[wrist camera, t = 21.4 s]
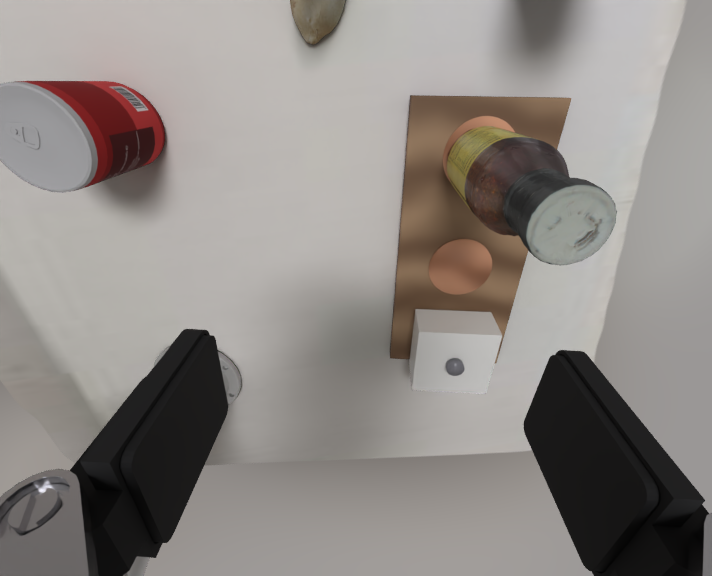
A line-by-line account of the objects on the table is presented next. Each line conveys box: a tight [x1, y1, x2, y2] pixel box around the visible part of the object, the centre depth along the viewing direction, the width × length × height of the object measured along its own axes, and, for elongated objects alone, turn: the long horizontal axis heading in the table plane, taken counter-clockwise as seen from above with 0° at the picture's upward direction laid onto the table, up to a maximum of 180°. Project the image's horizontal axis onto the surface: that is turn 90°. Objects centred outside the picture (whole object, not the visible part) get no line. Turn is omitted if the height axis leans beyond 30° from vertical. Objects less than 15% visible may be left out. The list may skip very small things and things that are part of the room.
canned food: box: [0, 81, 165, 192], centre depth 31 cm, size 8×8×11 cm
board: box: [390, 95, 571, 363], centre depth 40 cm, size 31×14×1 cm, turn 179°
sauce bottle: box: [447, 126, 617, 265], centre depth 25 cm, size 6×6×20 cm
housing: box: [409, 309, 502, 394], centre depth 42 cm, size 9×9×5 cm
